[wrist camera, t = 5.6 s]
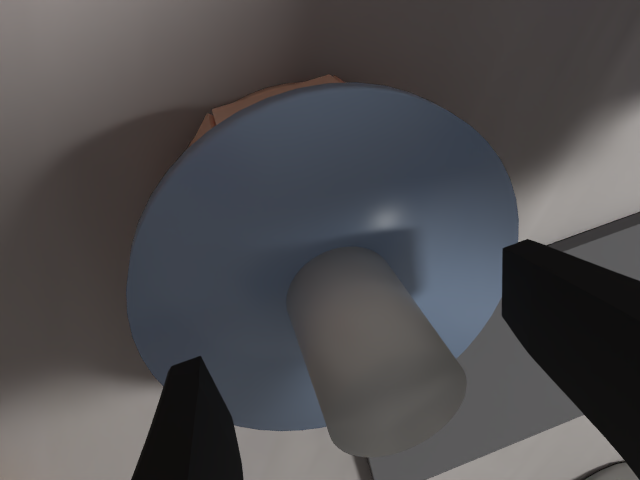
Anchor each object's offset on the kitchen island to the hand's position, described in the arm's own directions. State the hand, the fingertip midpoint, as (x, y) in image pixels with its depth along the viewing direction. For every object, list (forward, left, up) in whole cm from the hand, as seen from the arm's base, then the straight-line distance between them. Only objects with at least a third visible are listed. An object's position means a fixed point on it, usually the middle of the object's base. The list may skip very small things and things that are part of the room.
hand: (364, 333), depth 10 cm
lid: (0, 0, -3) cm, 3 cm away
